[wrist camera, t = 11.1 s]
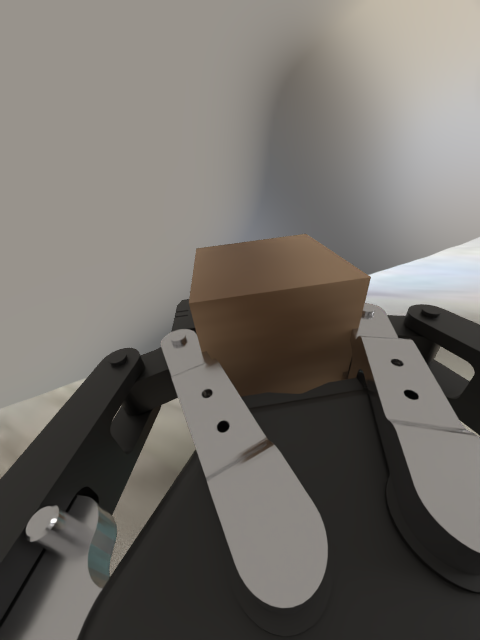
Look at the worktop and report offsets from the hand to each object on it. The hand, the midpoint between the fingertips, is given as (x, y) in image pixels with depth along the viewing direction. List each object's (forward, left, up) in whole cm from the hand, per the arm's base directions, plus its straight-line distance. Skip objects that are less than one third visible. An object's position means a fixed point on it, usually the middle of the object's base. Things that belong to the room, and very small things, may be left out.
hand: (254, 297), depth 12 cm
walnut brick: (0, +3, -6) cm, 7 cm away
